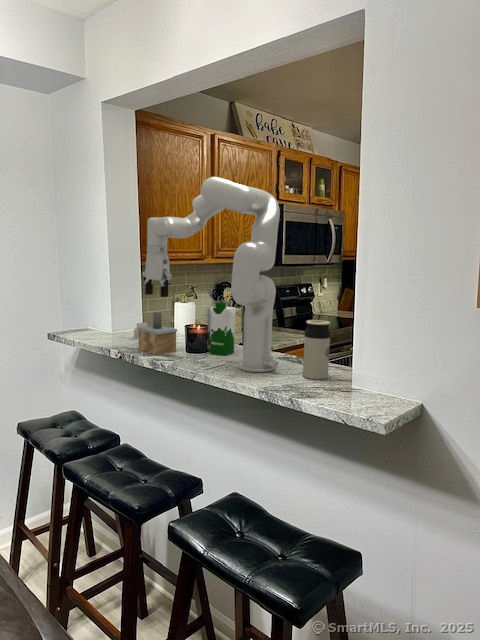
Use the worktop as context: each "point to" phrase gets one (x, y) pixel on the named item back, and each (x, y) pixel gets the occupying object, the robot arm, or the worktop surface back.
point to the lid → (157, 326)
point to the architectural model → (136, 331)
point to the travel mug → (316, 349)
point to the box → (157, 342)
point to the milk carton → (222, 329)
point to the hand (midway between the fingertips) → (156, 295)
